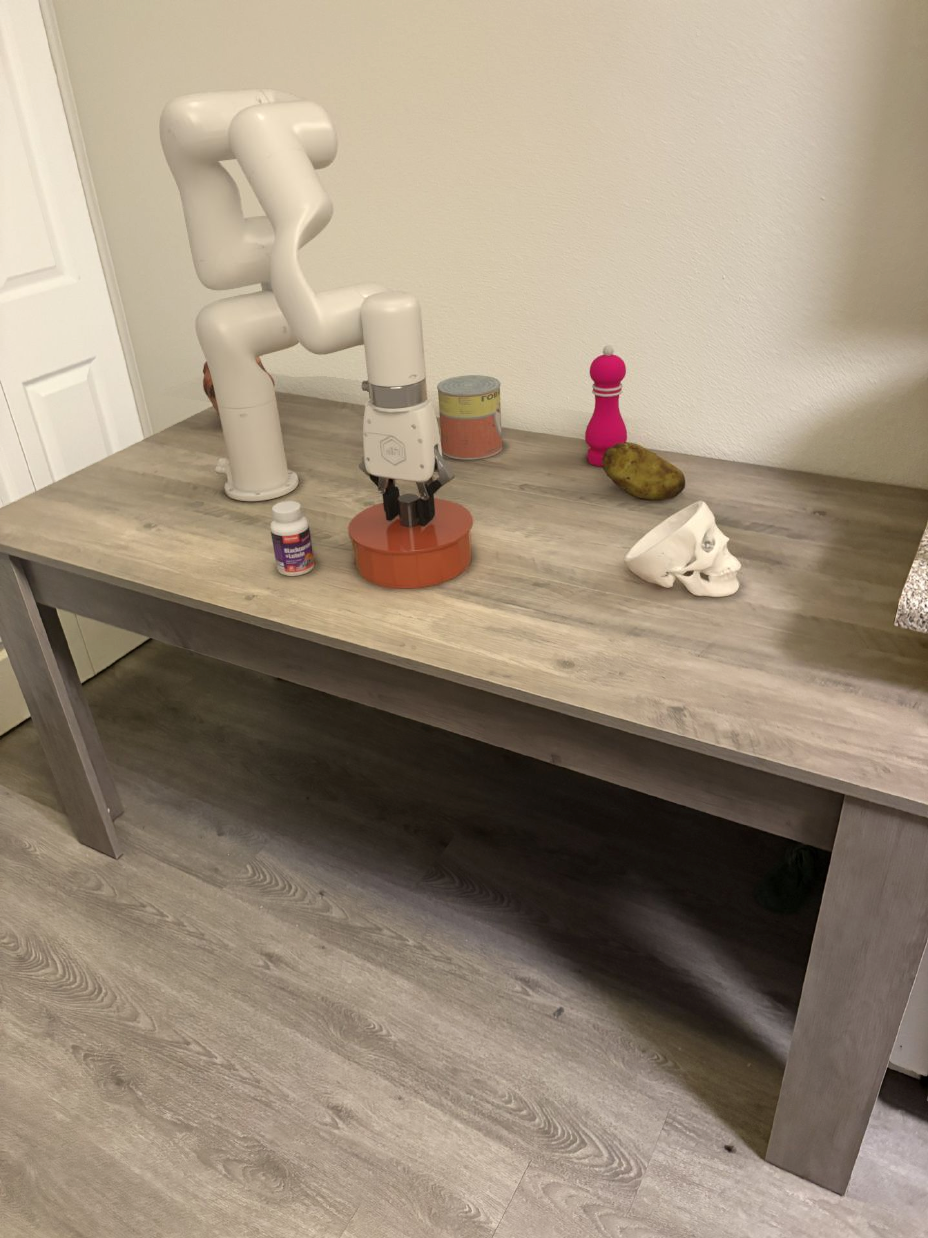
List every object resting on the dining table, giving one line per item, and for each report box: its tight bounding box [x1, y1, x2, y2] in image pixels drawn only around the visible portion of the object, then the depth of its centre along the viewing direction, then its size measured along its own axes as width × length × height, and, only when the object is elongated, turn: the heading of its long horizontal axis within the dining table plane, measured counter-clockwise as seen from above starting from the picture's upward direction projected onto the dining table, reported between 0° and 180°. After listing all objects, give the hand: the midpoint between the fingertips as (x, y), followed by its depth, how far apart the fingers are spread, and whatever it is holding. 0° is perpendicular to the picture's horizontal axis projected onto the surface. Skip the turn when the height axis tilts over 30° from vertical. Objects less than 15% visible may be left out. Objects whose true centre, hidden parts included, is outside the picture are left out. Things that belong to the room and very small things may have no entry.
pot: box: [351, 530, 473, 589], centre depth 131 cm, size 17×17×6 cm
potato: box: [602, 441, 686, 500], centre depth 146 cm, size 8×13×8 cm, turn 46°
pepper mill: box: [584, 344, 628, 467], centre depth 156 cm, size 7×7×20 cm
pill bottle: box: [269, 500, 315, 577], centre depth 130 cm, size 5×5×10 cm
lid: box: [347, 493, 474, 554], centre depth 129 cm, size 18×18×5 cm
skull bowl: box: [623, 500, 742, 598], centre depth 122 cm, size 10×14×12 cm
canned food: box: [436, 374, 503, 461], centre depth 167 cm, size 11×11×12 cm
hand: (410, 518), depth 129 cm, fingers open, 4 cm apart
